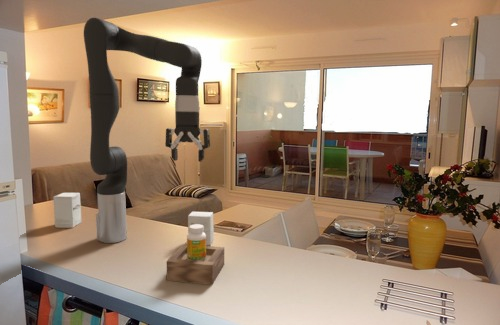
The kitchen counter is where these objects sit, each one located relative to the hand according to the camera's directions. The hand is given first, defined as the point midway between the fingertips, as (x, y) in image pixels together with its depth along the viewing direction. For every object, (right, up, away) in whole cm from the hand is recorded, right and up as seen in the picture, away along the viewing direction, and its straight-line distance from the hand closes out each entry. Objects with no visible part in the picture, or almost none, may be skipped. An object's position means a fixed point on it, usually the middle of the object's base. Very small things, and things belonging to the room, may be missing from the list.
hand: (187, 160), depth 117 cm
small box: (+3, -29, +11) cm, 31 cm away
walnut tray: (+5, -32, -13) cm, 35 cm away
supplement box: (-53, -26, +28) cm, 65 cm away
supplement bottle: (+5, -29, -13) cm, 32 cm away
